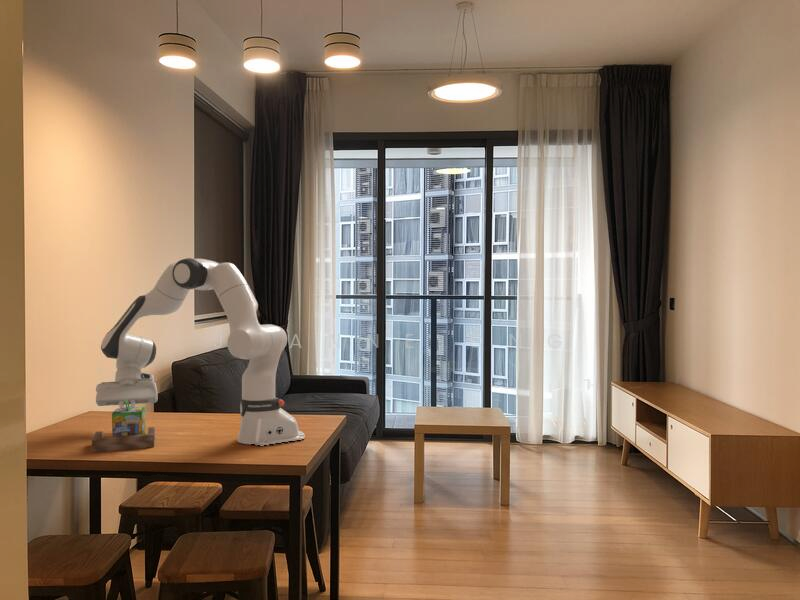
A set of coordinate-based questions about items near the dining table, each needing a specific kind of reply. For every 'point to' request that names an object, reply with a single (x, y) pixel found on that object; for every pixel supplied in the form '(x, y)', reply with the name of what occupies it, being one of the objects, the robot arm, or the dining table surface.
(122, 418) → the chalk box
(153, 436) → the grey-brown shallow rectangular tray
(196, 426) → the dining table surface
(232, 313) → the robot arm
